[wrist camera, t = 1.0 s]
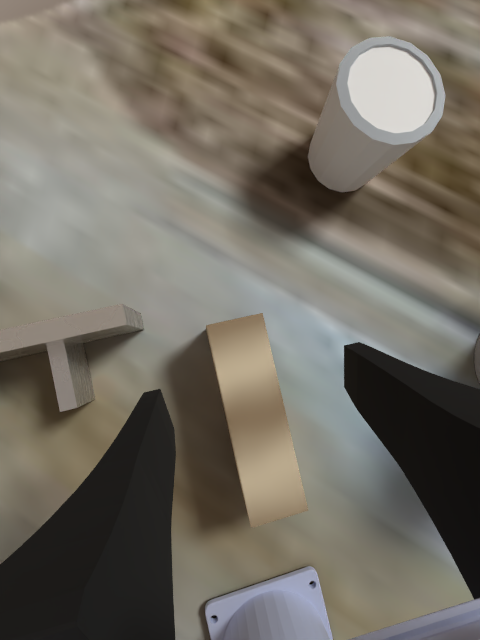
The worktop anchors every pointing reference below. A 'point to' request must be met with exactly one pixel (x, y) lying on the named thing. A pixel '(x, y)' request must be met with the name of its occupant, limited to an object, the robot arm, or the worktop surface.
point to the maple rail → (256, 419)
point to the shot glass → (374, 112)
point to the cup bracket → (69, 346)
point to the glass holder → (477, 359)
